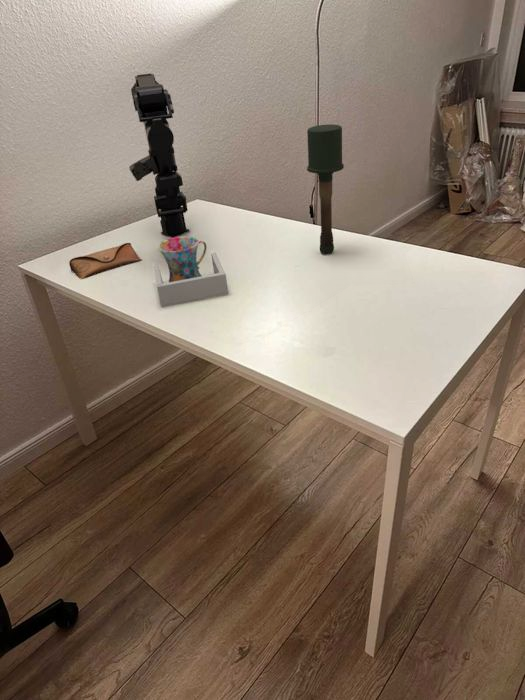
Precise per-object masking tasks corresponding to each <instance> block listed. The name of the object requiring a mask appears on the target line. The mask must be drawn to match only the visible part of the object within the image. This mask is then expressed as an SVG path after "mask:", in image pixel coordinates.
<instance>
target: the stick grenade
mask: <svg viewBox="0 0 525 700" xmlns="http://www.w3.org/2000/svg"><path fill="white" fill-rule="evenodd" d="M306 131H307V156H308V157H307V158H308V159H307V161H308V162H307V163H308V165H307V166H306V171H307V172H308V173H312V174H317V175H318V195H319V198H320V199H319V201H320V235H319V252H320V254H322V255H325V254H326V255H327V254H328V255H331V254H333V253H334V250H335V246H334V235H333V227H332V225H333V224H332V221H333V219H332V216H333V215H332V214H333V213H332V209H333V208H332V199H333V198H332V197H333V174H334V173H337V172H340V171H342V170H343V169H344V167H345V165H344V163H343V127H342V126H341V125H339V124H331V123H330V124H329V123H328V124H319V125H314V126H311V127H309V128H307V130H306Z"/></svg>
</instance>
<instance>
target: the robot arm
mask: <svg viewBox="0 0 525 700" xmlns="http://www.w3.org/2000/svg"><path fill="white" fill-rule="evenodd" d="M134 79H135V83H134V84H133V86H132V87H131V89H130V93H131V96H132V97H131V98H132V101H133V106H134V110H135V112H137V116H138V120H139V123H142V124H143V125H144V126H143V127H144V129H145V136H146V139H147V144H148V151H147V152H148V155H146V156H145V157H143V158H141V159H139V160H137V161H136V162H134V163H132V164H130V165H129V171H130V172H131V175H132V176H133V177H134V179H135V181H136V182H138V181H141V180H143V178H144V177H146V176H147V175H149V174H153V176H155V177H154V180H155V181H154V182H155V188H154V192H155V193H154V194H155V195H154V196H153V200H154V204H155V205H154V206H155V209H156V212H157V218H160V220H159V222H160V226H161V232H160V234H161V235H164V236H167V237H170V238H175V237H180V236H182V235H184V234H187V233H189V232H190V229H189V228H187V226H186V221H185V213H187V212H188V203H187V197H186V195H185V194H184V193H183V191H181V190H180V187H182V186H184V184H183V178H182V175H181V174H180V173H179V172H178V171H179V169H178V165H177V162H176V157H175V148H174V146H173V144H174V141H175V137H174V133H173V131H172V129H171V128H170V124H169V121H168V119H173V118H174V117H173V114H175V110H174V105H173V101H172V98H171V94H170V93H169V91H168V90H167V88H165V89H164V86H163V84H162V83H159V82H158V81H156V77H155V74H153V73H151V72H150V73H144V74H143V73H142V74H137V75H136V76H134Z"/></svg>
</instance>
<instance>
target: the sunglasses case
mask: <svg viewBox="0 0 525 700" xmlns="http://www.w3.org/2000/svg"><path fill="white" fill-rule="evenodd" d="M141 261H143V260H142V259H141V258H140V257H139V255H138V254H137V252H136V251H135V249H134V248H133V246H132V244H131V243H130V242H125V243H123V244H120V245H118V246H114V247H111V248H107V249H104V250H98V251H96V252H93V253H90V254H87V255H82V256H77V257H76V256H75V257H73V258H71V259H70V260H69V268H70V270H71V272H72V271H73V272H74V273H75V274H76V275H75V274H74V273H73V272H72V273H73V274H74V275H75V276H76V277H78V278H79V279H80V280H83V279H88V278H90V277H92V276H93V277H94V276H96V275H98V274H101V273H104V272H108V271H112V270H115V269H117V268H120V267H124V266H127V265H132V264H134V263H139V262H141Z"/></svg>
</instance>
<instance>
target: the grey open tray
mask: <svg viewBox="0 0 525 700" xmlns="http://www.w3.org/2000/svg"><path fill="white" fill-rule="evenodd" d="M210 255H211V260H212V261H211V263H212V267H213V273H212V274H207V275H201V277H195V278H190V279H185V280H179V281H174V282H169V281H168V282H169V283H168V282H163V279H162V274H161V270H160V269H161V268H160V265H159V262H156V263H153V270H154V277H155V284H156V288H157V293H158V298H159V301H160V306H161V308H164V307H168V306H174V305H179V304H185V303H189V302H190V303H191V302H195V301H201V300H205V299H208V298H209V299H210V298H214V297H220V296H225V295H229V289H228V282H227V275H226V271H225V270H224V267H223V265H222V263H221V261H220V258H219V256H218V255H217V252H211V253H210Z"/></svg>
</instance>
